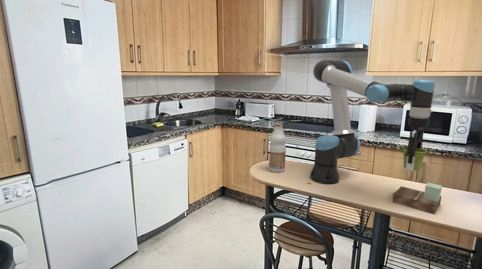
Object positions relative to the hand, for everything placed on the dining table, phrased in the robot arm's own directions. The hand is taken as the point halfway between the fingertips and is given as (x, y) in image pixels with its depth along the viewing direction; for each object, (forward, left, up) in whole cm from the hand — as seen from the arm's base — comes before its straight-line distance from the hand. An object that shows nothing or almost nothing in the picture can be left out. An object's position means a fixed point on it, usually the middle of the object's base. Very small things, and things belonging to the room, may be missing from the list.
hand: (412, 167), depth 125 cm
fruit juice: (-67, -8, -16) cm, 69 cm away
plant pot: (0, 0, 0) cm, 0 cm away
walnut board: (+3, 0, -16) cm, 16 cm away
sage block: (+9, 0, -12) cm, 15 cm away
